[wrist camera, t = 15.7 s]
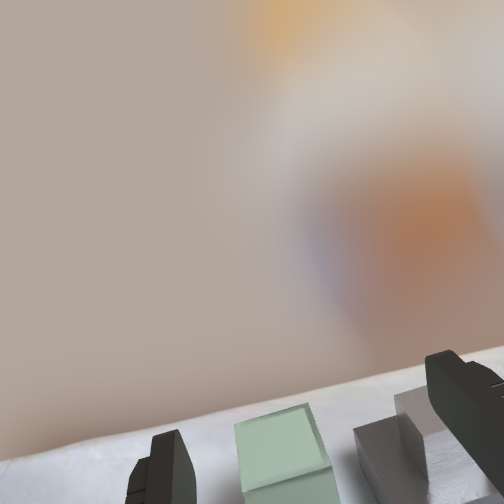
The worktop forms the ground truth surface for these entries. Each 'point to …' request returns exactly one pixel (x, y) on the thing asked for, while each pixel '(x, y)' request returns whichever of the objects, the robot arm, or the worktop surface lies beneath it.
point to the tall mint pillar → (284, 459)
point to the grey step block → (420, 458)
